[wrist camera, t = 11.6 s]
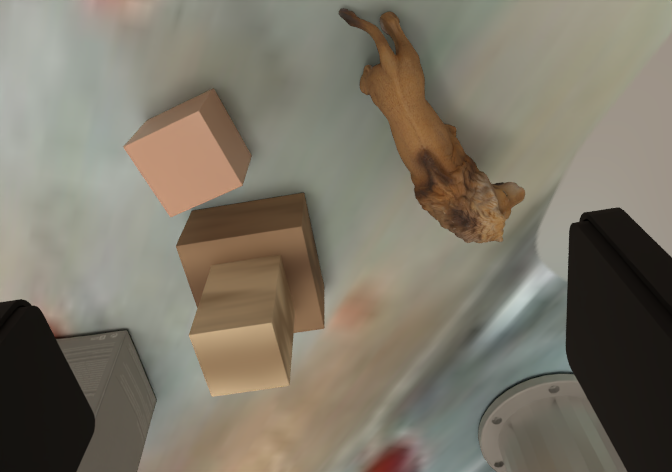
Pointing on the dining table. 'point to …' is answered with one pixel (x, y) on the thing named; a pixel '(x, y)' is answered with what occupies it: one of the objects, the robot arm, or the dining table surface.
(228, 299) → the oak block
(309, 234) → the walnut block
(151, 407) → the skincare box
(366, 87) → the lion figurine
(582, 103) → the dining table surface
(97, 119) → the dining table surface
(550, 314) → the dining table surface
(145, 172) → the terracotta cube
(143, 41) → the dining table surface
